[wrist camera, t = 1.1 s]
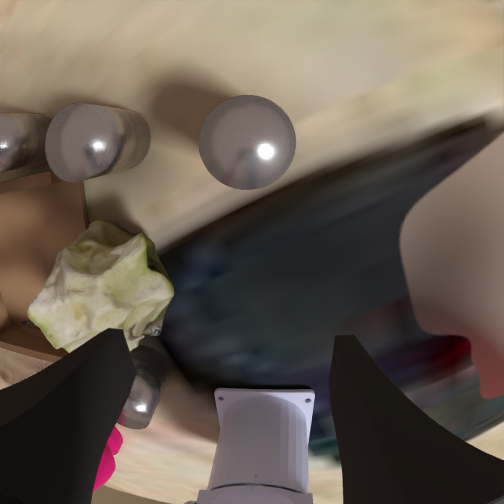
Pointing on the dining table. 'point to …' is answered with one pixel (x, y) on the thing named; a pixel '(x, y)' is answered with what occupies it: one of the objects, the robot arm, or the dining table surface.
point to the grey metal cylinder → (247, 142)
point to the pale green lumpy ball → (103, 289)
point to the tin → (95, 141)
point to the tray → (34, 251)
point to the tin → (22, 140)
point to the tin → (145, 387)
